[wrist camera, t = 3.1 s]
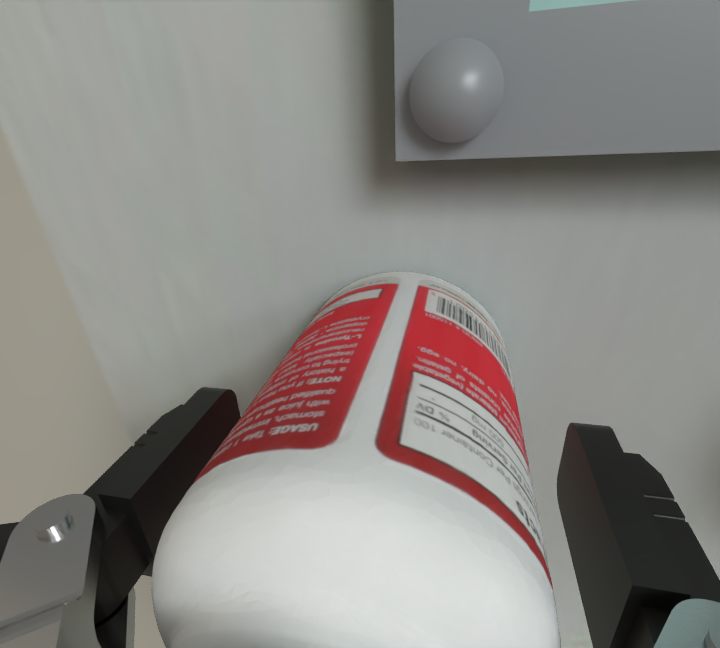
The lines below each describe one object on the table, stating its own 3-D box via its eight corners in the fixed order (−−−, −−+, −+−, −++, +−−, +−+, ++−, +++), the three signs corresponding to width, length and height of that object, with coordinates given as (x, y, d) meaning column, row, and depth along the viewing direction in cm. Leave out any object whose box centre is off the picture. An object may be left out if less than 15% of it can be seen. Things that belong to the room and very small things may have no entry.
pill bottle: (310, 414, 15) (43, 929, 6) (314, 251, 12) (-208, 722, 3) (484, 450, 14) (527, 1153, 5) (531, 282, 11) (898, 1186, 2)
